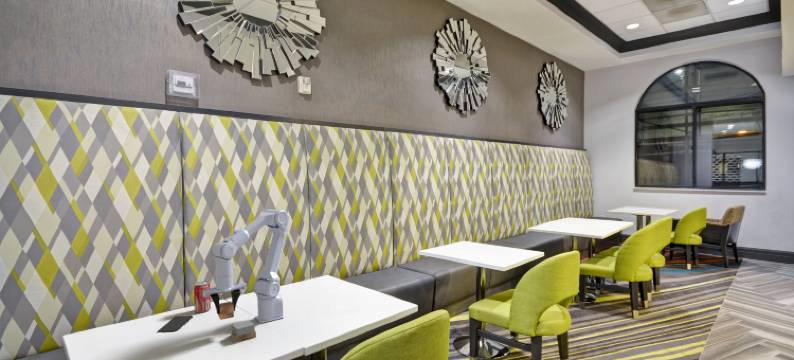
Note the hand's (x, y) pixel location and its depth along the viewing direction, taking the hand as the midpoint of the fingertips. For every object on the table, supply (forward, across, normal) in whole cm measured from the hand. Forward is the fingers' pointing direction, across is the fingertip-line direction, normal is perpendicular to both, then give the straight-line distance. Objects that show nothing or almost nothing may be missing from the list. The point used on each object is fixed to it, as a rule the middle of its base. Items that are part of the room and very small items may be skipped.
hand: (226, 312), depth 144 cm
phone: (+9, -15, +23) cm, 29 cm away
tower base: (+9, +5, -5) cm, 11 cm away
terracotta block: (+2, 0, 0) cm, 2 cm away
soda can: (+9, -4, +33) cm, 34 cm away
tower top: (+6, +5, -5) cm, 10 cm away
